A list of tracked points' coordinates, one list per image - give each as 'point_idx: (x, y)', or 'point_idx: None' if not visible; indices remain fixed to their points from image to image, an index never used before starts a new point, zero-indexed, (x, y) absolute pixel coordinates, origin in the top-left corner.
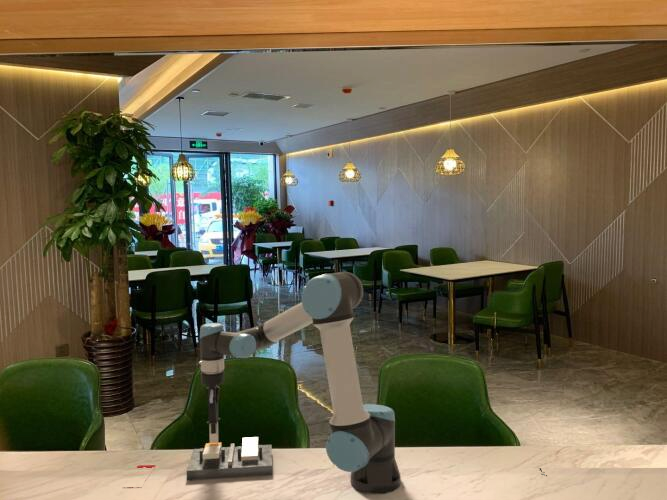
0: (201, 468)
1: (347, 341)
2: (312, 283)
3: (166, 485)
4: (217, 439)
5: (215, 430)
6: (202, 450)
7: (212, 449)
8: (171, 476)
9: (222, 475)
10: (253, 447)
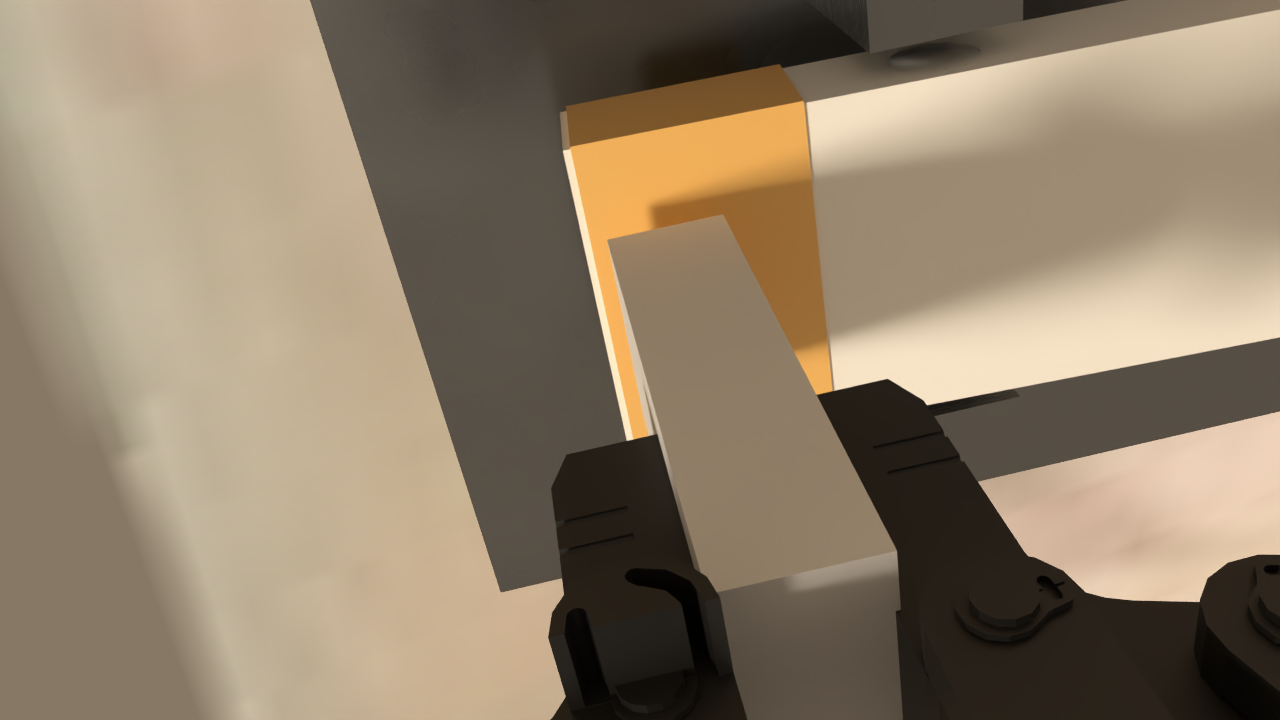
0: None
1: None
2: None
3: (1274, 505)
4: (745, 258)
5: (932, 434)
6: (997, 408)
7: (1041, 223)
8: (1051, 543)
9: None
10: None
